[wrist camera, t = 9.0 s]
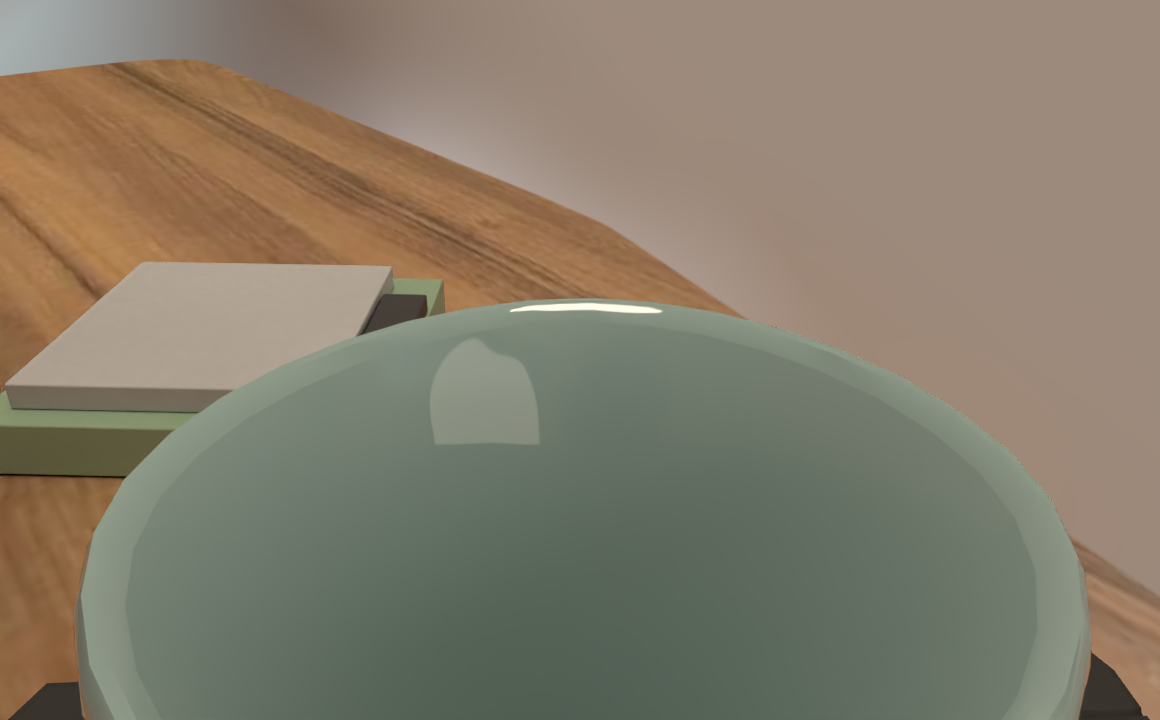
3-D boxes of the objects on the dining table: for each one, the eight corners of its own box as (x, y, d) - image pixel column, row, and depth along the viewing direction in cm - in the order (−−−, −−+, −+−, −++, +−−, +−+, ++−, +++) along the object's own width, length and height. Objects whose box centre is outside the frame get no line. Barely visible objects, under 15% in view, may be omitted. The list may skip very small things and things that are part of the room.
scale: (446, 318, 45) (442, 257, 43) (387, 483, 33) (380, 407, 32) (142, 313, 45) (129, 252, 43) (-19, 474, 33) (-45, 398, 32)
